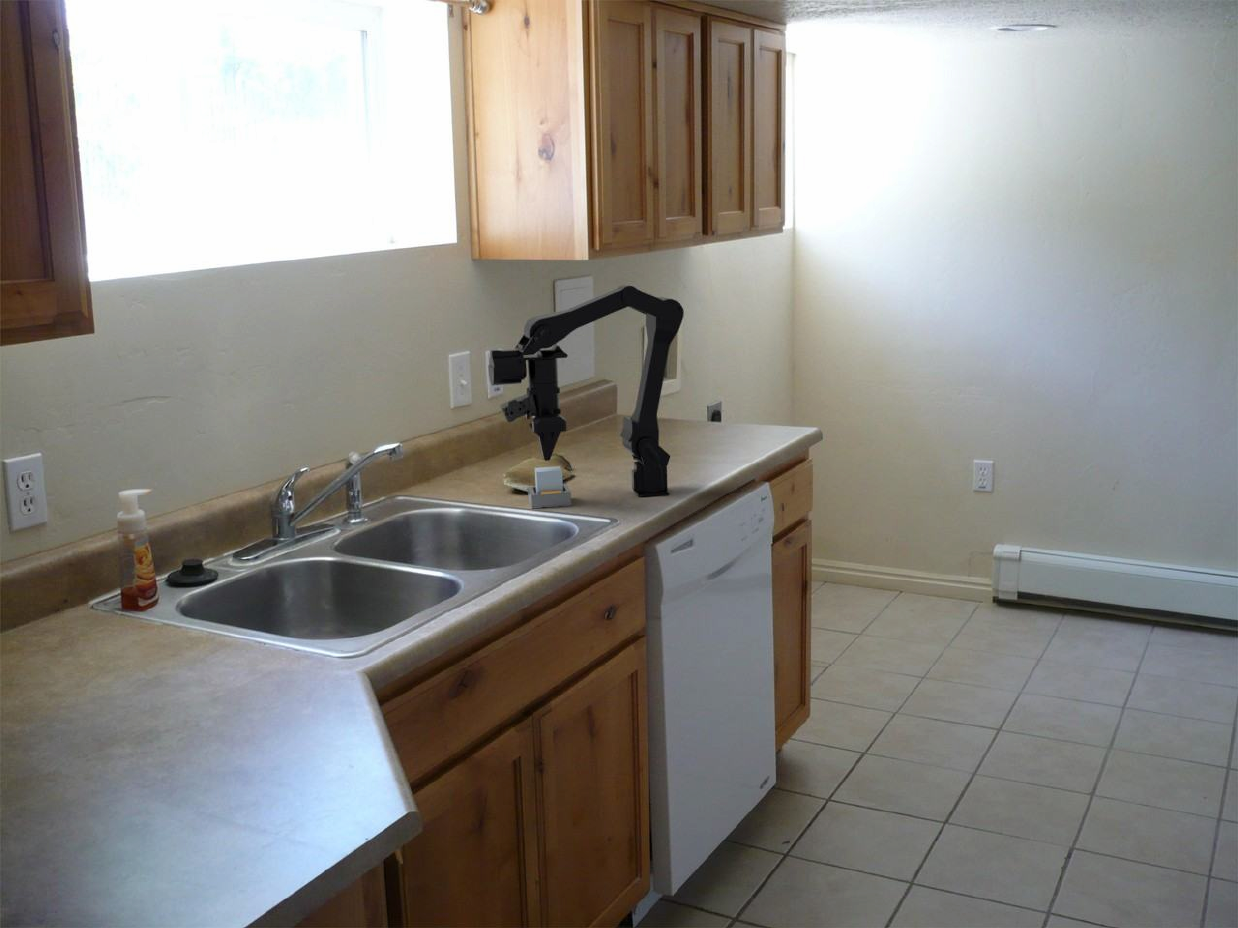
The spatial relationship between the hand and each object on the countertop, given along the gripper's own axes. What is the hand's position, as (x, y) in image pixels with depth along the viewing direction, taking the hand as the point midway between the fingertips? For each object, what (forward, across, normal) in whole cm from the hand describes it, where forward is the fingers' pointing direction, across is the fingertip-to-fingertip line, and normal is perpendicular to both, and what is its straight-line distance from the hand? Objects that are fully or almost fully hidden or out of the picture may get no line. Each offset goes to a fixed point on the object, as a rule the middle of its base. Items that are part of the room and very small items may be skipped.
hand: (546, 460), depth 240 cm
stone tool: (+9, -20, 0) cm, 22 cm away
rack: (+9, 0, 0) cm, 9 cm away
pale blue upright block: (+8, 0, 0) cm, 8 cm away
